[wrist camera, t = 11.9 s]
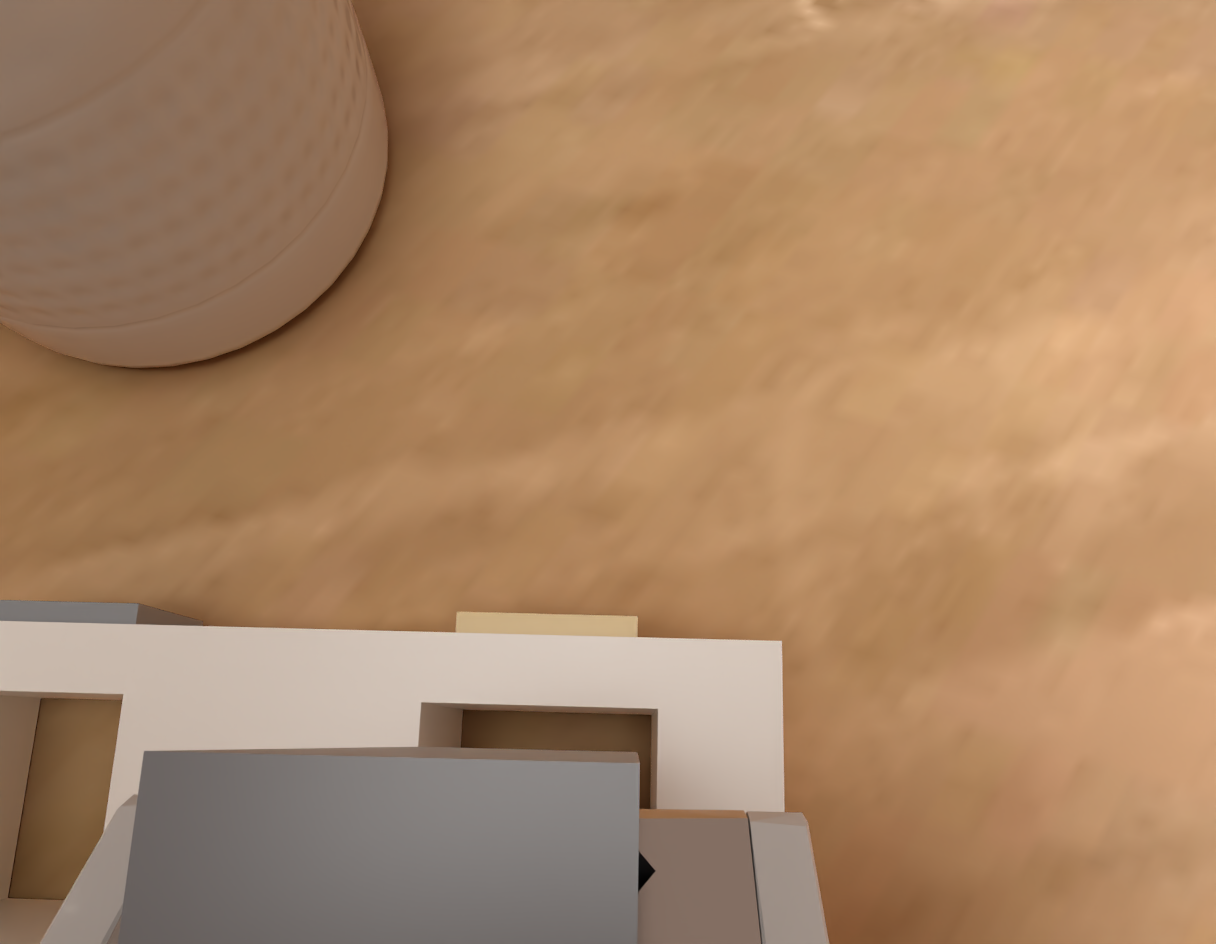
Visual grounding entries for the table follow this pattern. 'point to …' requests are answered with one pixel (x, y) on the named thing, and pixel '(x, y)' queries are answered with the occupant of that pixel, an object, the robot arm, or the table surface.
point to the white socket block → (379, 697)
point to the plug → (384, 847)
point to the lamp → (180, 170)
